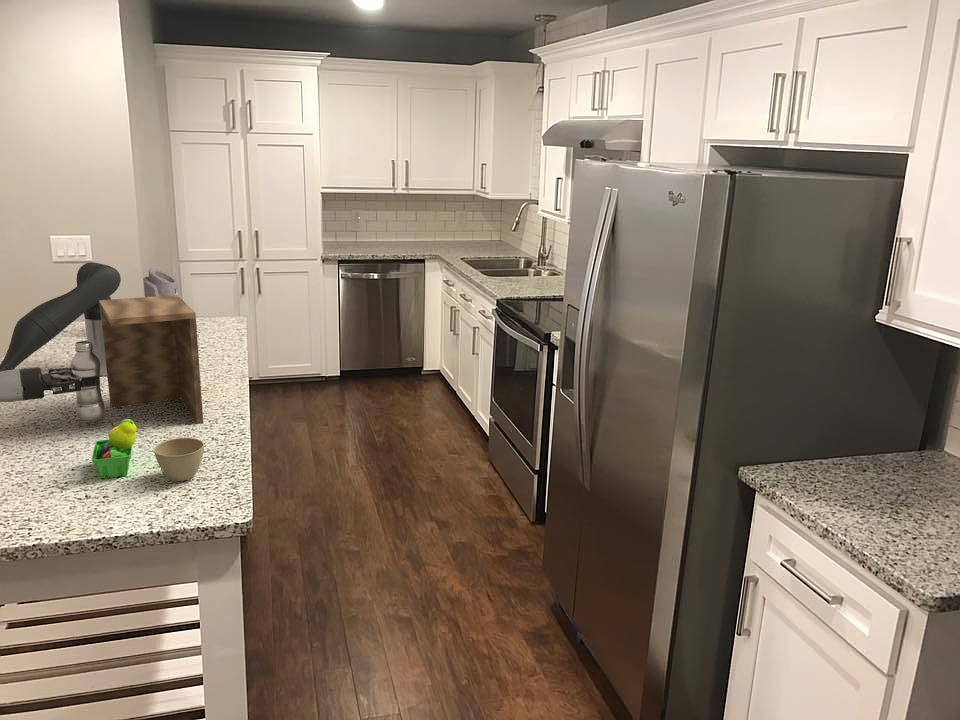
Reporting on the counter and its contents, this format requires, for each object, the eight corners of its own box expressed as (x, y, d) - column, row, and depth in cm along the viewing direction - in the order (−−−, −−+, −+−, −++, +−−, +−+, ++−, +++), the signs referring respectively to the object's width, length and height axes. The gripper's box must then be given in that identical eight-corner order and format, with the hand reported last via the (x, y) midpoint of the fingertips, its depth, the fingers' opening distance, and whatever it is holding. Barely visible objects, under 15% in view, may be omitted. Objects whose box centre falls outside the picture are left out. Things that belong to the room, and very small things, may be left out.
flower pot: (164, 467, 168) (162, 437, 166) (211, 467, 169) (209, 437, 167) (149, 487, 159) (147, 455, 157) (199, 487, 159) (196, 455, 157)
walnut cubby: (122, 435, 185) (110, 319, 176) (110, 406, 203) (99, 300, 195) (203, 423, 194) (195, 312, 186) (185, 396, 213) (177, 294, 205)
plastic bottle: (94, 425, 186) (86, 347, 181) (70, 422, 187) (61, 344, 182) (112, 417, 192) (105, 340, 187) (88, 414, 194) (80, 338, 188)
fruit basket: (97, 461, 170) (92, 414, 167) (140, 456, 173) (136, 410, 170) (93, 482, 160) (87, 432, 157) (139, 477, 163) (134, 428, 160)
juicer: (199, 330, 283) (195, 265, 276) (189, 342, 268) (184, 273, 261) (115, 330, 279) (108, 264, 272) (100, 341, 264) (92, 272, 257)
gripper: (20, 391, 186) (96, 382, 195) (22, 409, 175) (103, 399, 183) (16, 361, 184) (93, 354, 193) (18, 378, 173) (100, 369, 181)
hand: (97, 376), depth 188 cm, fingers closed on plastic bottle, 6 cm apart
